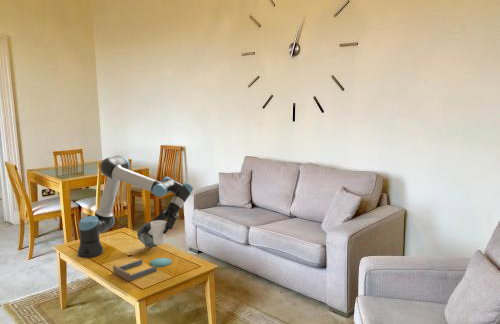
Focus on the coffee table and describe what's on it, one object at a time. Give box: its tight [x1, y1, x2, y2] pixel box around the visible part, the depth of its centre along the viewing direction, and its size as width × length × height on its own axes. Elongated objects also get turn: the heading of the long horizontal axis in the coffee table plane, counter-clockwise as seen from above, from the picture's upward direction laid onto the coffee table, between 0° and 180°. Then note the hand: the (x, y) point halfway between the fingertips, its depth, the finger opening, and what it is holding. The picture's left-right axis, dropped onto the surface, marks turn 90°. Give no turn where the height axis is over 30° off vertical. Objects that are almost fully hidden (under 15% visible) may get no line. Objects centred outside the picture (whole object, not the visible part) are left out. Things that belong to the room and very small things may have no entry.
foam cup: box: [151, 219, 167, 246], centre depth 227 cm, size 10×9×13 cm
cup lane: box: [112, 259, 158, 282], centre depth 217 cm, size 16×18×4 cm
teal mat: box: [149, 257, 173, 268], centre depth 230 cm, size 13×13×1 cm
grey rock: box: [136, 221, 158, 251], centre depth 253 cm, size 14×15×18 cm
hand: (154, 235), depth 225 cm, fingers closed on foam cup, 9 cm apart
